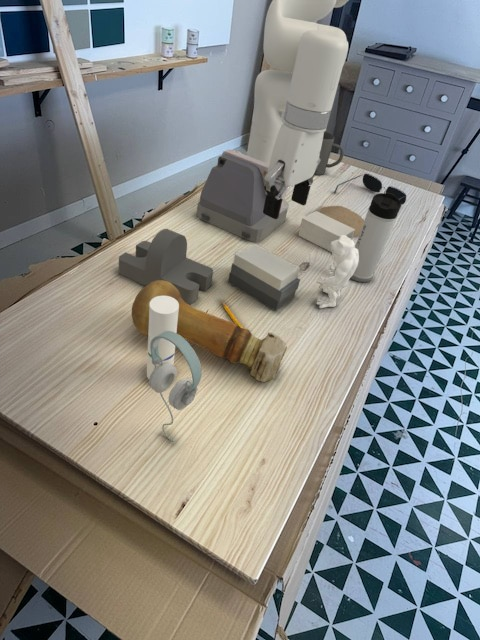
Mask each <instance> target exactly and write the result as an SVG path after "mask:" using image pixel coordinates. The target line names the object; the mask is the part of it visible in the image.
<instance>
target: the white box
mask: <svg viewBox="0 0 480 640" xmlns="http://www.w3.org/2000/svg"><path fill="white" fill-rule="evenodd" d="M232 263H233V264H234V265H236V266H238V267H239V268H241V269H243V270H245V271H246V272H248V273H250V274H251V275H253V276H255V277H257V278H258V279H260V280H262V281H263V282H265V283H267V284H269V285H270V286H272V287H274V288H276V289H277V290H281V289H282V288H283V287H285V286H286V285H288V284H289V283H291V282H292V281H294V280H295V279H296V278H298V277H299V274H300V270H301V268H300V267H299V266H298V265H295V264H294V263H292V262H290V261H288V260H287V259H284V258H283V257H281V256H279V255H277V254H275V253H274V252H273V251H272V252H271V251H270V250H268V249H266V248H264V247H262V246H260V245H259V244H258V243H253V244H251V245H249V246H247V247H246V248H244V249H242V250H240V251H238V252H236V253H234V257H233V262H232Z"/></svg>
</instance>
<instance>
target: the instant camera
mask: <svg viewBox="0 0 480 640" xmlns="http://www.w3.org/2000/svg"><path fill="white" fill-rule="evenodd" d="M268 168H269V164H268V163H265V162H262V161H260V160H257V159H254V158H252V157H249V156H247V154H243V153H242V152H239V151H235V150H233V149H231V148H230V149H226V150H224V151H223V152H222V154H221V155H220V156H218V158H217V164H216V165H215V166H212V167H211V169H210V172H209V174H208V176H207V178H206V181H205V183H204V185H203V187H202V189H201V191H200V197H199V202H198V203H197V205H196V217H197V218H198V219H200V220H202V221H204V222H206V223H209V224H211V225H213V226H215V227H217V228H220V229H222V230H224V231H227V232H228V233H231V234H233V235H236V236H237V237H240V238H242V239H244V240H247V241H249V242H252V243H258V242H262V240H263V239H265V238H266V237H267V236H269V235H270V234H271V233H272V232H273V231H275V230H276V229H277V228H278V227H280V226H281V225H282V224H284V223H285V222H286V218H287V213H288V209H289V207H290V203H289V202H287V201H286V196H287V192H288V188H289V187H287V188H286V190H285V191H284V193H283V195H282V196H281V199H283V200H282V204H281V209H280V213H279V217H278V219H273V218H271V217H269V216H267V215H265V214H264V213H263V209H264V204H265V199H266V194H265V189H264V187H265V182H264V177H265V175H266V174H267V172H268ZM279 180H282V181H284V182H285V180H284V179H282V178H280V177H279ZM275 186H276V188H277V190H279V189H280V187H281V186H280V185H278V184H276V185H275Z"/></svg>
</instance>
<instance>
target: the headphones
mask: <svg viewBox="0 0 480 640" xmlns="http://www.w3.org/2000/svg"><path fill="white" fill-rule="evenodd" d="M161 338H164V339H166V340H168V341H170V342H171V343H173V344H174V345H175V348H177V349H178V351H179V352H180V353H181V354H182V356H183V357H184V359H185V361H186V363H187V365H188V367H189V370H190V373H191V378H192V379H191V378H189V377H185V378H182V379H180V380H178V381H177V382H176V383H175V384H174V382H175V381H176V378H177V375H178V371H177V370H178V369H177V367H176V366H175V365H172V364H170V363H169V362H162V361H163V360H162V358H161V357H160V356H159V351H158V344H159V341H160V339H161ZM150 348H151V355H152V356H151V357H152V363H153V365H154V366H155V368H154V370H153V372H152V373H151V375H150V378H149V379H148V386H149V387H150V388H151V390H153V391H154V392H155V393H157V394H160V397H161V399H162V401H163V402H164V404H165V406H166V408H167V410H168V412H169V414H170V417H171V422H170V423H164V424H162V426H161V428H162V433H163V434H164V436H165V437H166V438H167V439H168V440H169V441H171V442H172V443H175V441H176V440H173V439H172V438H171V437H169V436H168V435H167V433H166V430H165V426H171V425H173V423H174V416H173V413H172V411H171V408H170V407H169V405H170V406H172V407H173V408H174V409H175V410H176V411H181V410H184V409H186V408H187V407H188V406H189V405H191V403H193V402H194V400H195V397H196V394H197V392H198V386H199V384H200V382H201V380H202V365H201V362H200V359H199V356H198V355H197V353H196V351H195V350H194V348H193V347H192V346H191V344H190V343H189V341H188V340H187V339H185V338H183V337H182V336H180V335H179V334H177V333H175V332H172V331H165V332H163V333H162V334H160V335H158V336H156V337H154V338H153V339H152V341H151V343H150ZM160 362H161V364H160ZM157 364H159V365H158V366H157V367H156V365H157ZM173 384H174V385H173ZM172 386H173V387H172ZM171 387H172V388H171ZM169 388H171V389H170V392H169V393H168V399H167V400H168V403H167V401H166V400H165V398H164V395H163V393H164V392H166V391H167V390H169ZM168 404H169V405H168Z"/></svg>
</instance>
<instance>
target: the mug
mask: <svg viewBox="0 0 480 640" xmlns="http://www.w3.org/2000/svg"><path fill="white" fill-rule="evenodd" d="M333 148H336V149H339V153H340V154H339V158H338V159H337V160H336V161H334V162H332V163H329V160H330V156H331V153H332V150H333ZM344 155H345V149H344V147H343V146H341V145H339V144H337V143H335V135H333V133H330V132H329V131H327V130H326V131H325V132H324V135H323V141H322V146H321V151H320V156H319V158H320V159H321V161H320V163H319V165H318V167H317V169H316V170H317V172H316V174H315V175H314V176H321V175H324V174H325V172H326V169H327V168H329V169H330V168H333V167H335V166H338V165H339V164H340V163H342V160H343V159H344Z"/></svg>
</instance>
